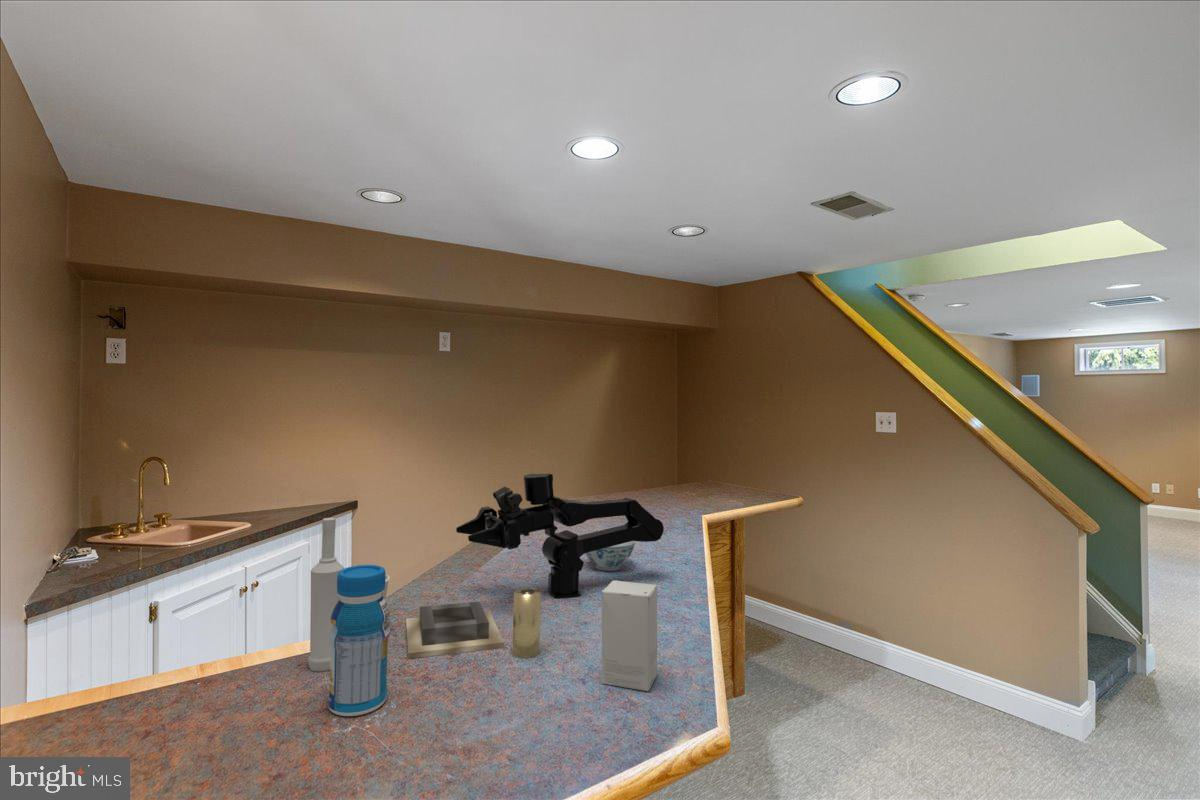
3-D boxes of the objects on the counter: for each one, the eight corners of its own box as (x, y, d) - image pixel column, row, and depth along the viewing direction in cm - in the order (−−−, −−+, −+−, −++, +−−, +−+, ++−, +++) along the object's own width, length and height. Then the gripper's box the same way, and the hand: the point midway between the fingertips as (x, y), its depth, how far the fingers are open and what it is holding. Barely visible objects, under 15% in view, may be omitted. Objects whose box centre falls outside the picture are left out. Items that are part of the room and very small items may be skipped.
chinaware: (635, 576, 155) (636, 547, 155) (579, 574, 155) (580, 545, 155) (633, 561, 170) (633, 534, 170) (582, 559, 170) (582, 533, 170)
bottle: (315, 658, 101) (319, 515, 101) (345, 658, 101) (350, 516, 102) (302, 672, 96) (307, 522, 96) (334, 672, 96) (339, 522, 96)
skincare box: (658, 676, 98) (660, 584, 98) (648, 694, 92) (650, 596, 92) (611, 667, 101) (613, 578, 101) (598, 684, 94) (601, 589, 95)
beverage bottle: (350, 725, 81) (354, 582, 81) (314, 707, 85) (318, 571, 85) (399, 699, 88) (403, 568, 88) (364, 684, 92) (368, 559, 93)
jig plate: (489, 615, 124) (489, 596, 124) (503, 647, 108) (504, 626, 108) (405, 623, 118) (406, 603, 118) (408, 658, 102) (408, 636, 102)
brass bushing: (536, 644, 109) (537, 586, 109) (542, 656, 104) (544, 594, 105) (509, 648, 107) (511, 588, 108) (515, 659, 103) (516, 596, 103)
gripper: (510, 481, 142) (447, 492, 134) (541, 491, 126) (471, 504, 118) (514, 525, 143) (452, 539, 135) (545, 541, 126) (476, 558, 119)
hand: (462, 534), depth 127 cm, fingers open, 9 cm apart
